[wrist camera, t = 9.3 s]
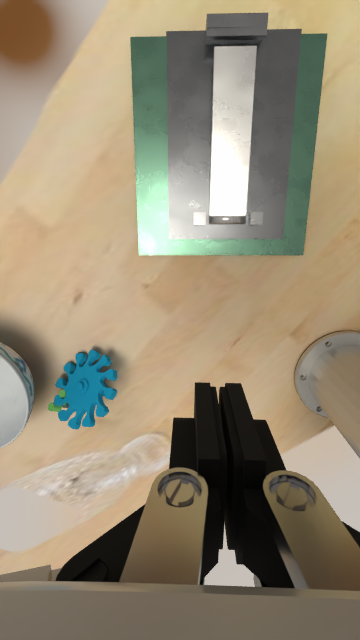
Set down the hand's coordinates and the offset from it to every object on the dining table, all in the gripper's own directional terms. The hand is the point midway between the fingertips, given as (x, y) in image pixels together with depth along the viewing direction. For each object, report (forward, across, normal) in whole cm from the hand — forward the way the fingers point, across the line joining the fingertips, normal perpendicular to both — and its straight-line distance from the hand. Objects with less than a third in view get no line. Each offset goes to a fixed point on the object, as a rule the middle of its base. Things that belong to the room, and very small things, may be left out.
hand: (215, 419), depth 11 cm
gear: (+29, +15, +13) cm, 35 cm away
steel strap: (+23, -3, -15) cm, 28 cm away
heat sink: (+29, -3, -15) cm, 33 cm away
